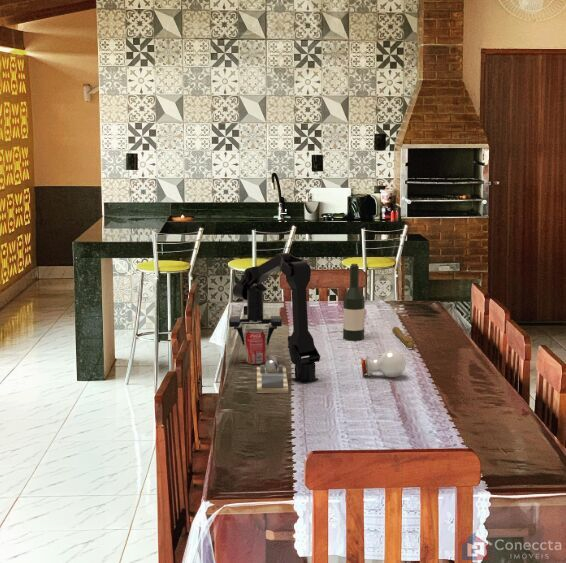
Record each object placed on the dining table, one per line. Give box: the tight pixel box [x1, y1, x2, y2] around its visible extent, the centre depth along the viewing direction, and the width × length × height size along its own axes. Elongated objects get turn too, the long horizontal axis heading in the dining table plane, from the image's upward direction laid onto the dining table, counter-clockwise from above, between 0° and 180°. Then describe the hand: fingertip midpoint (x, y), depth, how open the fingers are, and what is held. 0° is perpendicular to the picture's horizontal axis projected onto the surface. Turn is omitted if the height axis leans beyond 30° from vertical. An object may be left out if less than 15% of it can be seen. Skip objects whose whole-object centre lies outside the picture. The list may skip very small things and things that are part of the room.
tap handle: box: [391, 326, 416, 349], centre depth 390 cm, size 3×3×30 cm
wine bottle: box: [342, 263, 366, 342], centre depth 392 cm, size 8×8×30 cm
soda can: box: [245, 328, 266, 365], centre depth 356 cm, size 7×7×12 cm
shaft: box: [264, 354, 278, 374], centre depth 340 cm, size 11×4×4 cm, turn 2°
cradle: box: [256, 364, 289, 394], centre depth 332 cm, size 28×10×6 cm, turn 2°
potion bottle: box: [361, 349, 407, 379], centre depth 337 cm, size 9×10×15 cm
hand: (255, 345), depth 356 cm, fingers open, 8 cm apart
